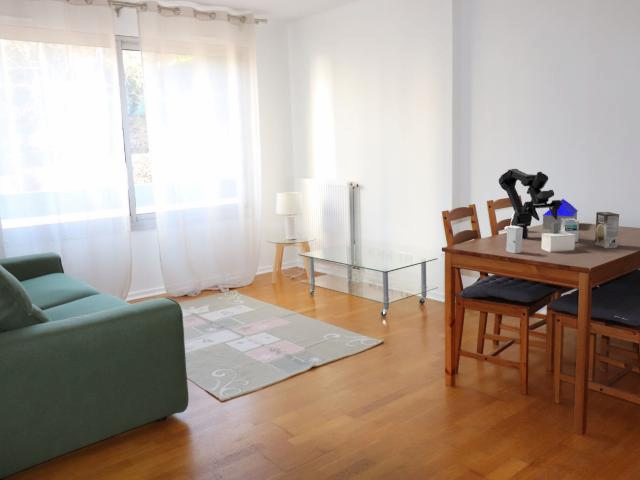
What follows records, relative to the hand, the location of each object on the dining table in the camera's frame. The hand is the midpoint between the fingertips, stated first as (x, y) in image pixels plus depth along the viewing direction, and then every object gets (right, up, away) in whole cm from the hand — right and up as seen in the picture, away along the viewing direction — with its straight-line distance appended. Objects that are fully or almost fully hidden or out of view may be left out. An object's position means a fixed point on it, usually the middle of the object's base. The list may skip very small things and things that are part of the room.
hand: (547, 219), depth 277 cm
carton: (+2, -15, -7) cm, 16 cm away
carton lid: (+2, -8, -8) cm, 11 cm away
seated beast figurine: (0, -5, +49) cm, 49 cm away
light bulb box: (+17, -10, +16) cm, 25 cm away
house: (+31, -2, +60) cm, 68 cm away
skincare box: (-19, -16, -9) cm, 26 cm away
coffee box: (+27, -13, -2) cm, 30 cm away
